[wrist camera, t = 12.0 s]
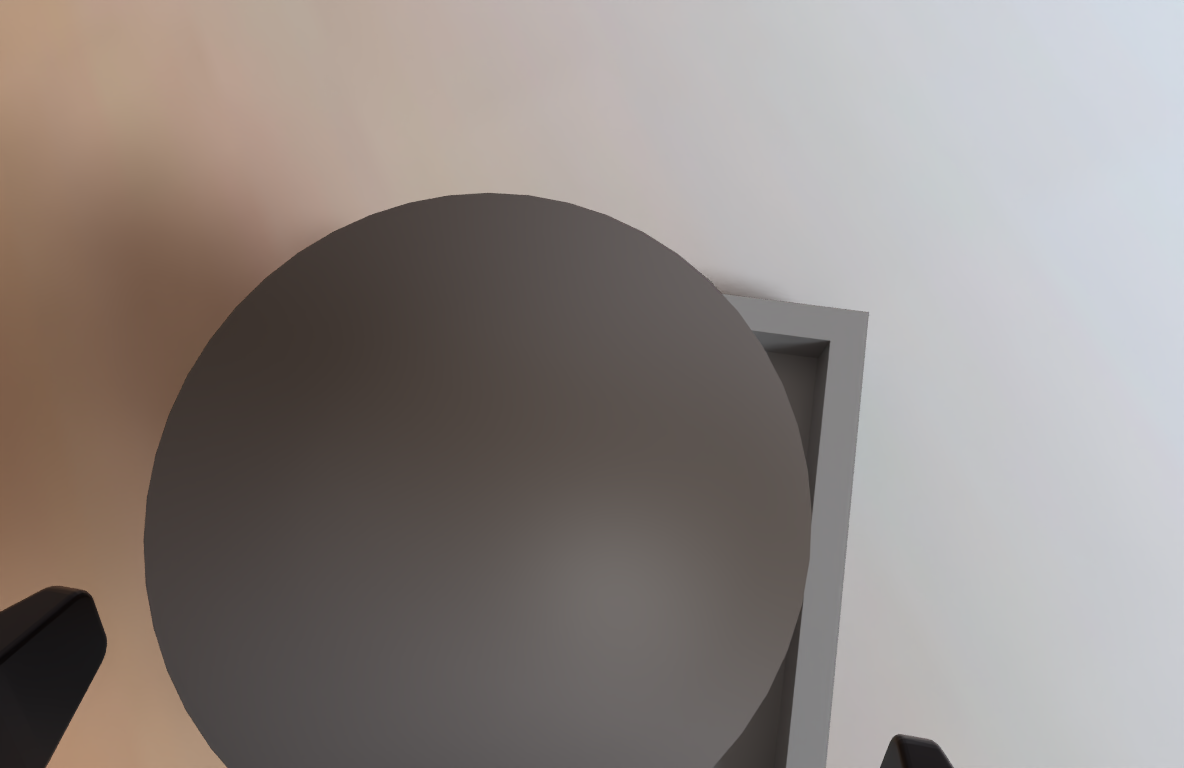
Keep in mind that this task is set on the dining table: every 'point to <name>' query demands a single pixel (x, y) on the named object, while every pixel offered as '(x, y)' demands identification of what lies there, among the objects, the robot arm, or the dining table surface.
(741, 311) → the tray
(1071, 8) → the dining table surface
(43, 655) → the robot arm
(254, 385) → the walnut canister
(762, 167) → the dining table surface
